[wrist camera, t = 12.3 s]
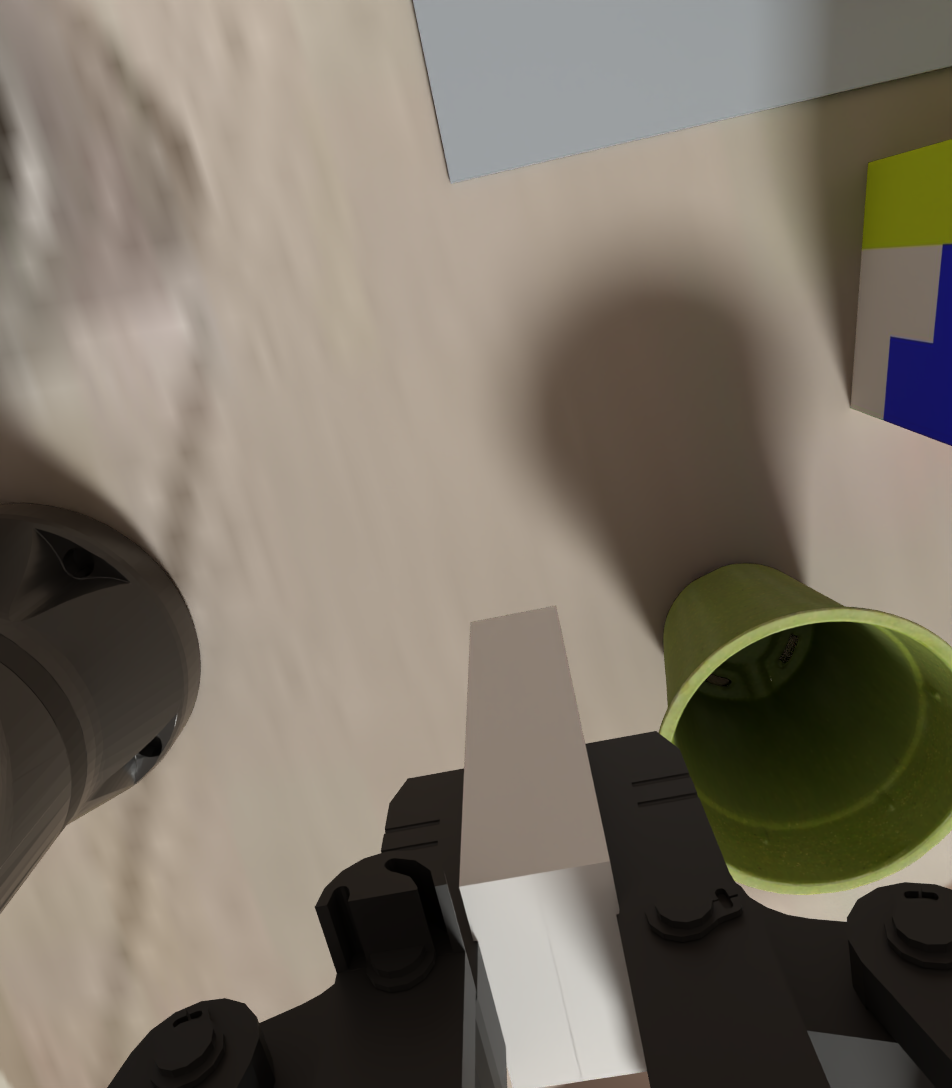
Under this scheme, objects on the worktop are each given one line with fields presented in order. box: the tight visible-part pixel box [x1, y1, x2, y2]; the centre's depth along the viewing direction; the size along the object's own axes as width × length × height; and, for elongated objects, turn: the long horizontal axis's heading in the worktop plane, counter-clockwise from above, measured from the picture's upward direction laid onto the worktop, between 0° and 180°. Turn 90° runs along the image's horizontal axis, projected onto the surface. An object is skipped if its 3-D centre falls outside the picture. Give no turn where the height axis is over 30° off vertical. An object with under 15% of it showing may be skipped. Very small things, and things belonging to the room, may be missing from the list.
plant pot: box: [659, 563, 952, 895], centre depth 36 cm, size 12×12×11 cm
